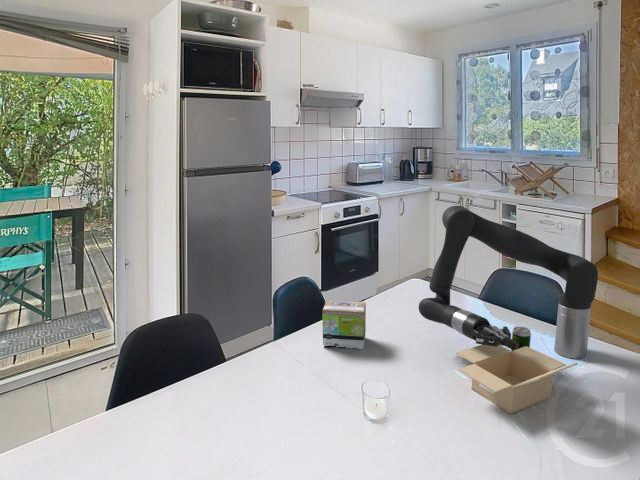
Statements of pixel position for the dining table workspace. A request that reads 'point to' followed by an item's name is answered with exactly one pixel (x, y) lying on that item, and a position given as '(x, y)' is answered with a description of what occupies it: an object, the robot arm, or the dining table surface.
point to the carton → (509, 375)
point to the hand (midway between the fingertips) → (517, 346)
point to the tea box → (344, 324)
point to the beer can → (521, 336)
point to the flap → (546, 374)
